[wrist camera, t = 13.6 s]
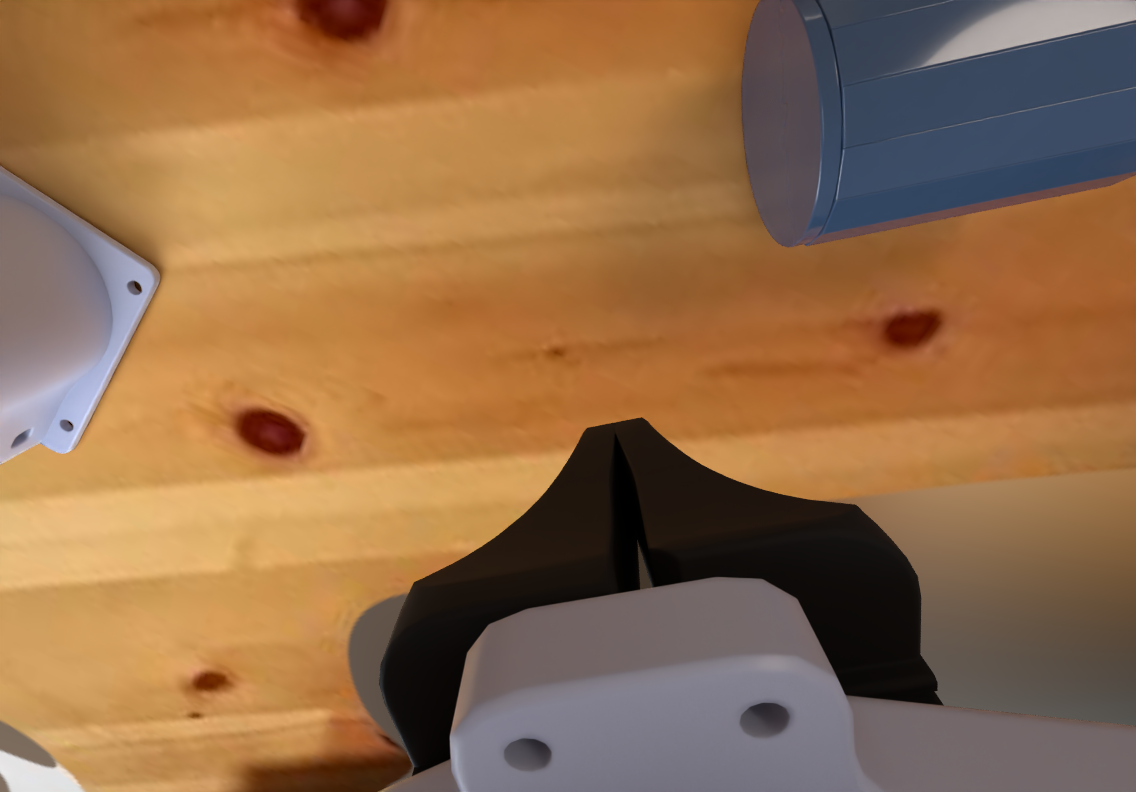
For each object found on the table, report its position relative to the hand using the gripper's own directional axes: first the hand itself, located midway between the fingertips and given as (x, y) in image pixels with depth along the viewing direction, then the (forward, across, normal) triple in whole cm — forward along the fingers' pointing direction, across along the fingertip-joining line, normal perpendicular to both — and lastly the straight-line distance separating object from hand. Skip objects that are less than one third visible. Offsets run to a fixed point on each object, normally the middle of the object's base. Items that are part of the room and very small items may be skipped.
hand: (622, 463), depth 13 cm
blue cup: (+7, -6, -6) cm, 11 cm away
